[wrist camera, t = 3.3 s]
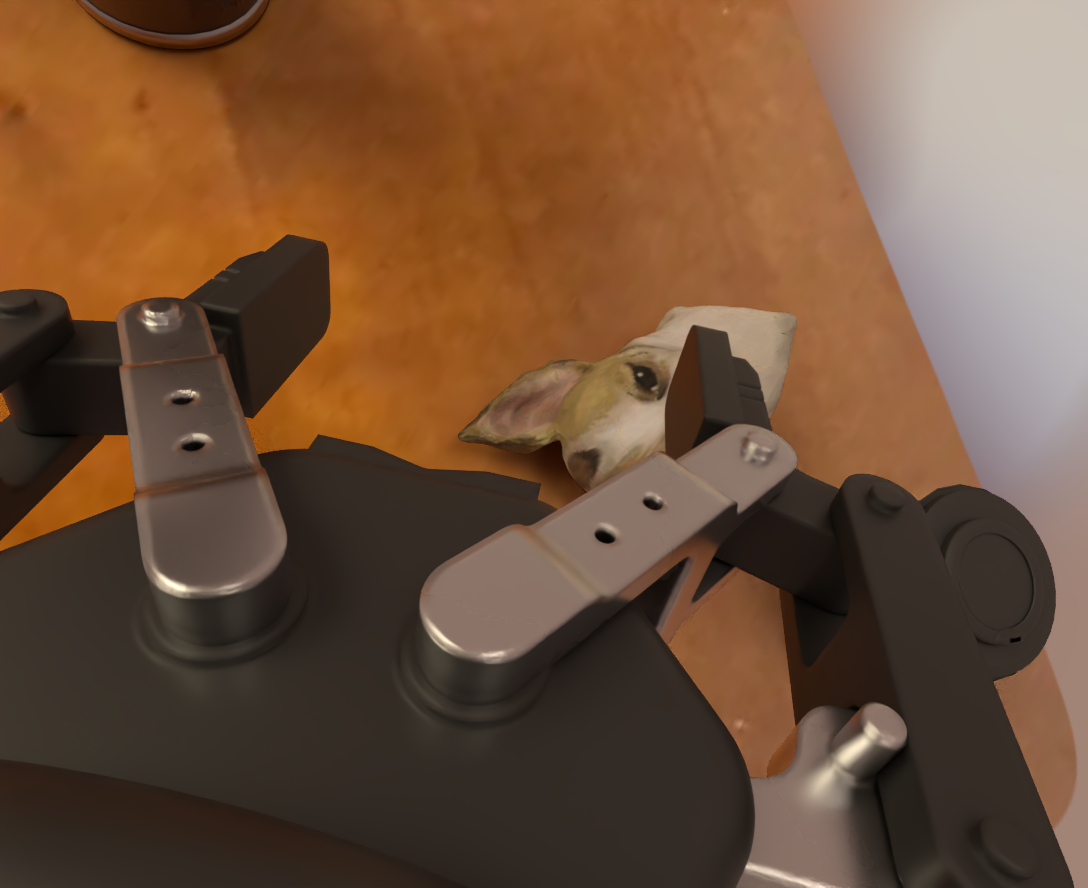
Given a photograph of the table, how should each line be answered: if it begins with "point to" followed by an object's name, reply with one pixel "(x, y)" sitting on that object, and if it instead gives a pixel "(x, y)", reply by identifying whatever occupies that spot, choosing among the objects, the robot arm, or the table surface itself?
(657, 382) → the ceramic sculpture
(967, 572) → the coffee cup
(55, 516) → the table surface
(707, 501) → the robot arm
